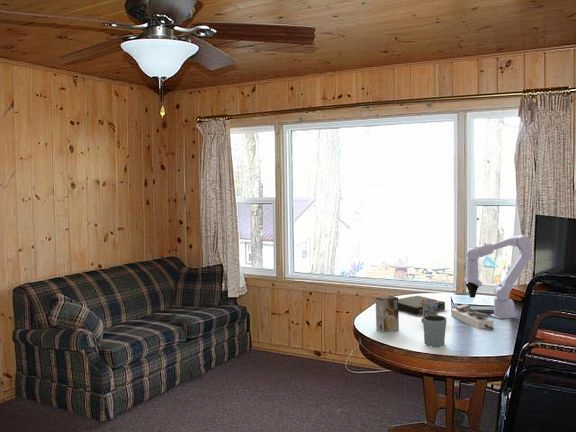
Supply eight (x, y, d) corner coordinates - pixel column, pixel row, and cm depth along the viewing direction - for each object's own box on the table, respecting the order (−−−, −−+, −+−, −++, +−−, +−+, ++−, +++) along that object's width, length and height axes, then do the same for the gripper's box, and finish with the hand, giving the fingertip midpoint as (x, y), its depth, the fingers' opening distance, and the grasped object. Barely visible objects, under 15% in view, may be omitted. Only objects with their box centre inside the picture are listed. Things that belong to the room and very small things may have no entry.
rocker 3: (483, 315, 282) (483, 313, 282) (487, 317, 278) (488, 314, 278) (472, 314, 281) (473, 311, 281) (476, 316, 277) (477, 313, 277)
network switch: (421, 317, 299) (421, 308, 299) (387, 309, 318) (387, 300, 317) (448, 309, 314) (448, 300, 314) (414, 302, 332) (414, 294, 332)
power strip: (465, 314, 301) (465, 307, 301) (499, 330, 271) (499, 322, 270) (451, 315, 300) (451, 308, 299) (484, 331, 269) (484, 323, 269)
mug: (438, 324, 283) (437, 303, 282) (419, 323, 287) (418, 302, 286) (441, 318, 294) (441, 298, 293) (422, 317, 298) (422, 297, 297)
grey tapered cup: (431, 339, 259) (431, 313, 258) (451, 344, 251) (451, 317, 250) (418, 344, 252) (418, 317, 251) (437, 349, 245) (437, 322, 244)
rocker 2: (474, 313, 290) (475, 310, 290) (478, 315, 286) (479, 312, 286) (464, 309, 289) (465, 306, 289) (468, 311, 285) (469, 308, 285)
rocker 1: (466, 306, 298) (465, 303, 298) (470, 307, 294) (469, 305, 294) (455, 309, 297) (455, 306, 296) (459, 311, 293) (459, 308, 292)
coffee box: (391, 327, 281) (390, 295, 279) (399, 330, 275) (398, 297, 274) (375, 330, 276) (375, 297, 275) (383, 333, 271) (383, 299, 270)
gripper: (458, 269, 302) (458, 294, 303) (473, 274, 288) (473, 300, 289) (470, 268, 304) (470, 294, 305) (485, 273, 290) (485, 299, 291)
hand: (472, 297), depth 297 cm, fingers closed
